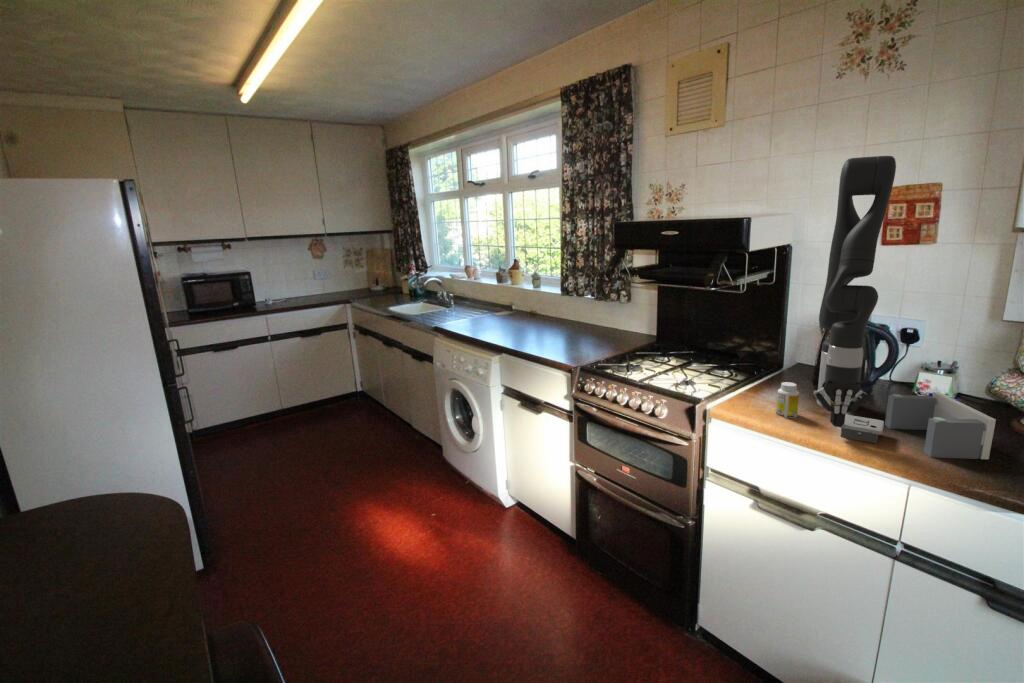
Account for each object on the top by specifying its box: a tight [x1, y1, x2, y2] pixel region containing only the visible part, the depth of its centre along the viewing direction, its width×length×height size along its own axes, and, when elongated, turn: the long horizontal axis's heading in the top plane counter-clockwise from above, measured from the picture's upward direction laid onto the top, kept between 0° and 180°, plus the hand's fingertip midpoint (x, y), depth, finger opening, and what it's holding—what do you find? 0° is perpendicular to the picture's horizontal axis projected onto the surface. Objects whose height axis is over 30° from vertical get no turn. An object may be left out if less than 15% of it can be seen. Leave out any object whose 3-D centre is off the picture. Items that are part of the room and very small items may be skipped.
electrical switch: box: [839, 413, 885, 444], centre depth 127 cm, size 9×5×9 cm
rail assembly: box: [884, 391, 997, 460], centre depth 122 cm, size 20×12×10 cm, turn 169°
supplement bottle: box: [775, 381, 800, 419], centre depth 142 cm, size 6×6×10 cm
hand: (836, 425), depth 126 cm, fingers closed
